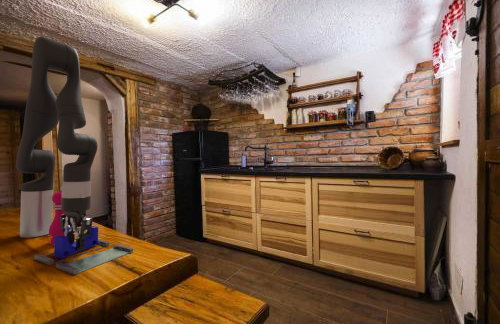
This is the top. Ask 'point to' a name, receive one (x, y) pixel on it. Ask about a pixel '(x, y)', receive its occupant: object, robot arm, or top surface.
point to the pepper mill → (56, 217)
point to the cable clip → (73, 244)
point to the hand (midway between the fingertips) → (75, 247)
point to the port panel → (88, 258)
